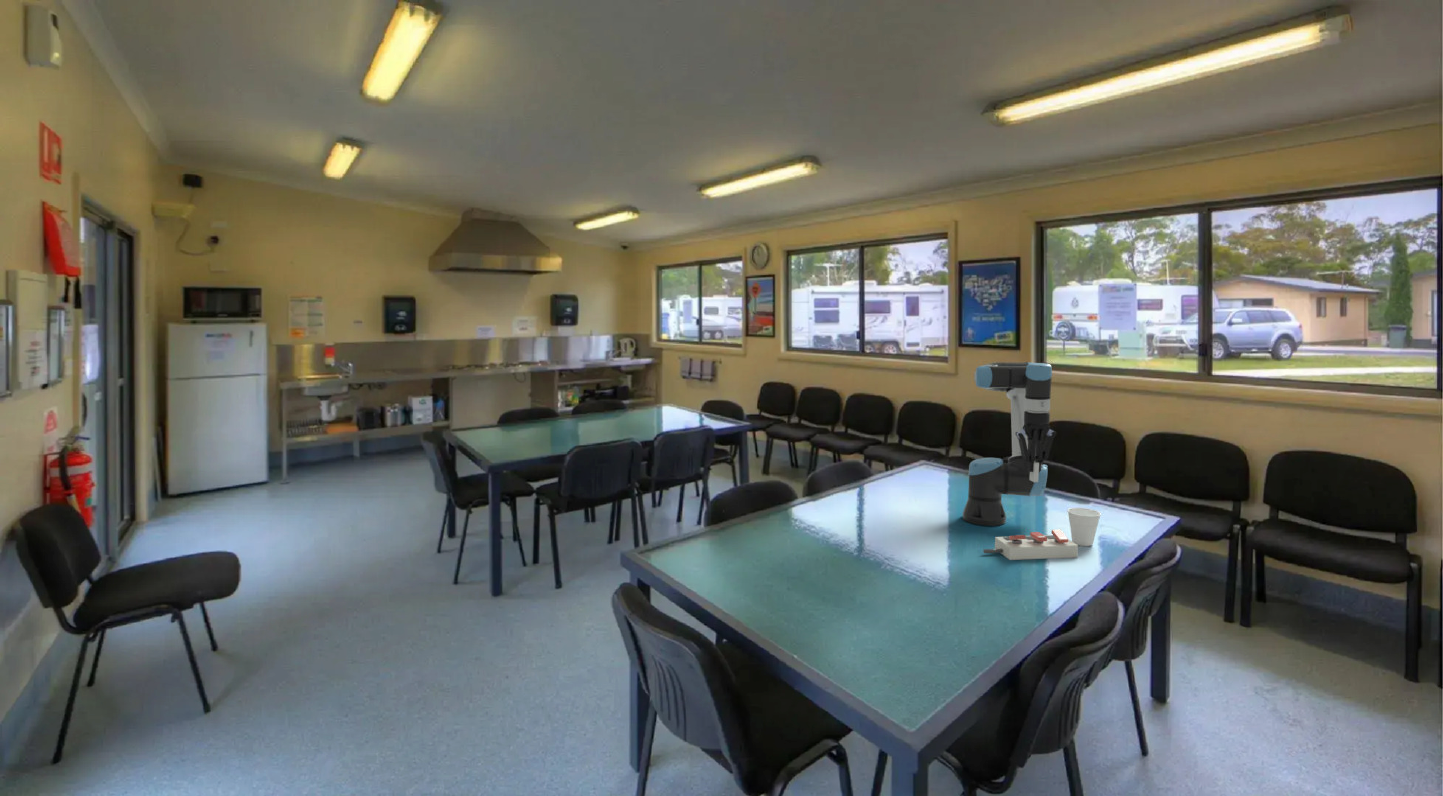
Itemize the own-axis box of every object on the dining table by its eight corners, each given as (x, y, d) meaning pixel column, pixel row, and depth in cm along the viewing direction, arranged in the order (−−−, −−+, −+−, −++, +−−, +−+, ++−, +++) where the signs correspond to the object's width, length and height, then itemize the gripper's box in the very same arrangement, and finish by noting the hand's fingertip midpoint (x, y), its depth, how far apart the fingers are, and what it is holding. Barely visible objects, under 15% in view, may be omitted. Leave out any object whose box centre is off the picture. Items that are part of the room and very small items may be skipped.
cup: (1104, 549, 211) (1105, 516, 210) (1071, 547, 213) (1072, 515, 212) (1093, 539, 221) (1094, 507, 220) (1061, 537, 223) (1063, 506, 222)
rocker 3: (1051, 532, 210) (1052, 529, 209) (1059, 532, 210) (1060, 529, 210) (1059, 542, 206) (1060, 539, 205) (1067, 542, 206) (1068, 539, 205)
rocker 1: (1009, 539, 209) (1008, 535, 210) (1017, 539, 209) (1017, 535, 210) (1016, 539, 204) (1016, 535, 205) (1025, 539, 204) (1024, 534, 205)
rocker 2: (1030, 535, 210) (1030, 531, 210) (1038, 535, 210) (1038, 531, 210) (1038, 541, 205) (1038, 537, 205) (1046, 541, 205) (1047, 537, 205)
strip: (977, 549, 214) (977, 534, 213) (1059, 546, 215) (1060, 531, 214) (991, 560, 204) (991, 545, 203) (1077, 557, 205) (1078, 542, 204)
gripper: (1023, 414, 206) (1020, 485, 210) (1063, 412, 207) (1059, 483, 211) (1011, 409, 213) (1009, 478, 217) (1050, 408, 214) (1046, 476, 218)
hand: (1033, 480), depth 214 cm, fingers closed
